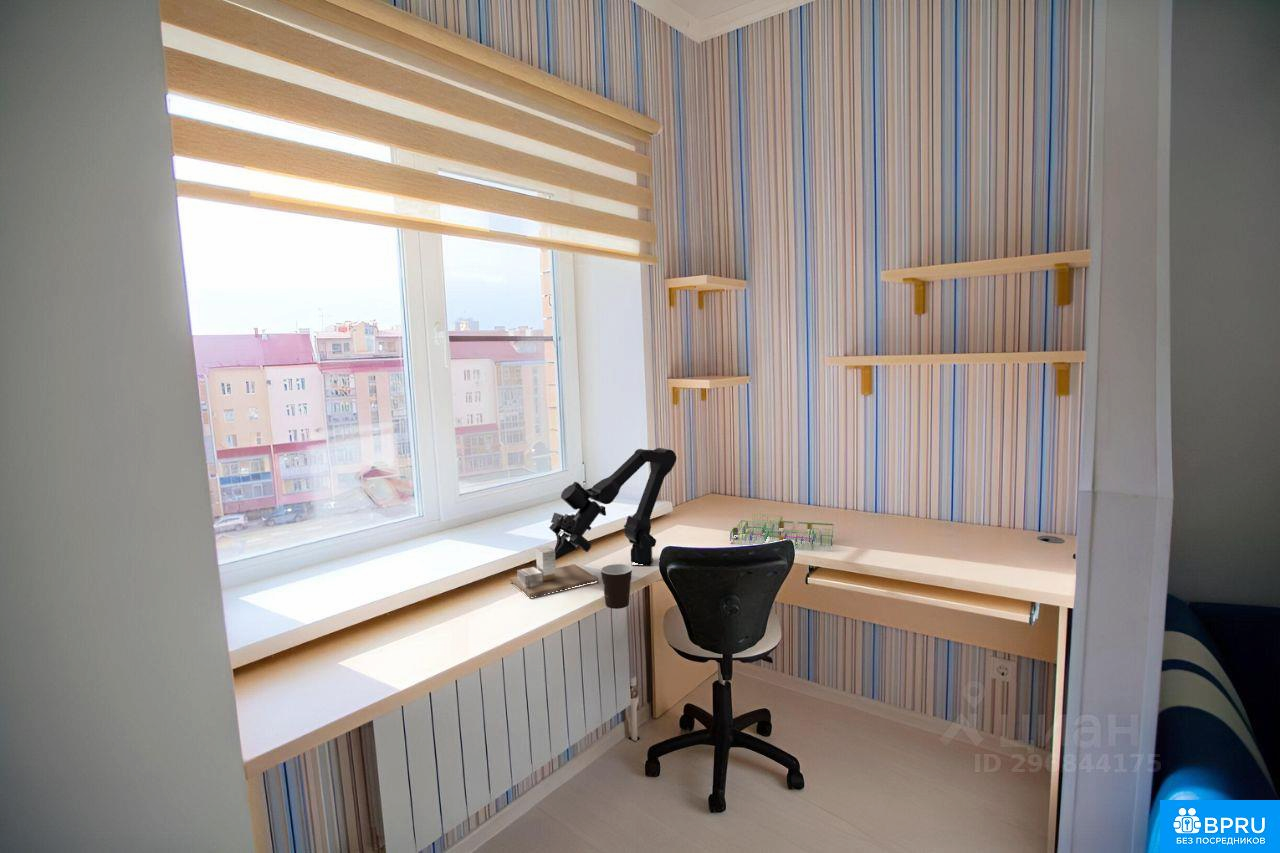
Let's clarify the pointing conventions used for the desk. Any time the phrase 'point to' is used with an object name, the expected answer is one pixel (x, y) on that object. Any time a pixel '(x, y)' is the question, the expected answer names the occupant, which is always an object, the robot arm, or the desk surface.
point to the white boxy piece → (546, 562)
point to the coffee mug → (616, 585)
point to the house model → (780, 525)
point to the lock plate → (564, 579)
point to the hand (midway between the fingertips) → (552, 559)
